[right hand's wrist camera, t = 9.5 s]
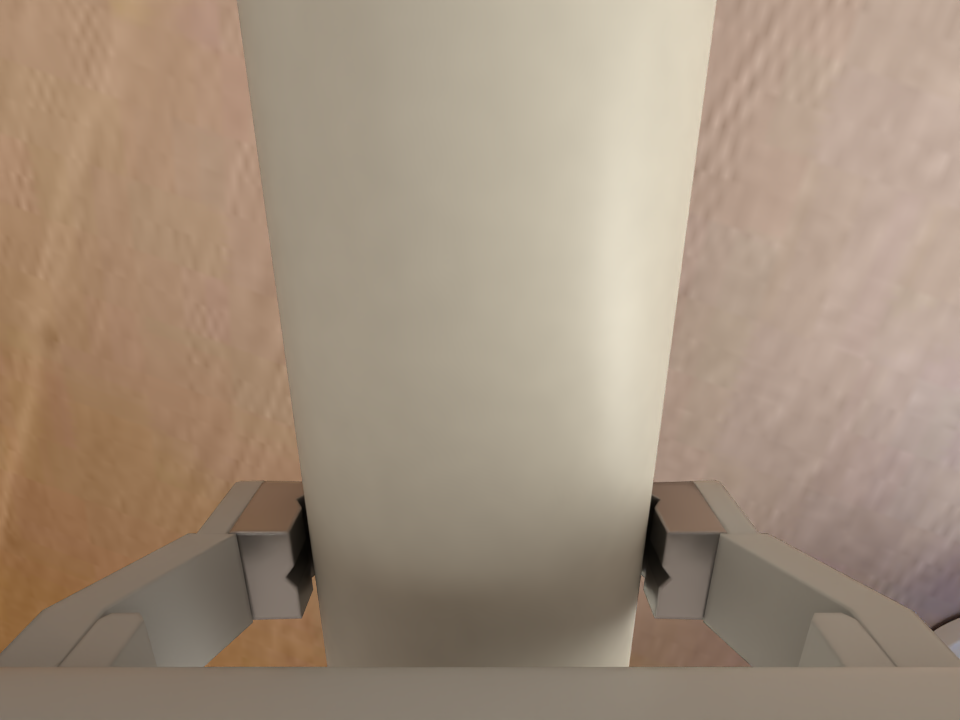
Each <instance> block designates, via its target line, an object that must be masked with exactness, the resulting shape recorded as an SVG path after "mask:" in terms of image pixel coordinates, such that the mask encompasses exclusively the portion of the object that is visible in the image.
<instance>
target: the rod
mask: <svg viewBox="0 0 960 720" xmlns="http://www.w3.org/2000/svg"><path fill="white" fill-rule="evenodd" d="M716 1H717V0H237V6H238V13H239V20H240V28H241V35H242V42H243V50H244V57H245V64H246V72H247V79H248V86H249V94H250V101H251V108H252V116H253V123H254V130H255V138H256V145H257V152H258V160H259V167H260V175H261V182H262V189H263V197H264V204H265V211H266V219H267V226H268V233H269V241H270V248H271V255H272V263H273V270H274V277H275V285H276V292H277V299H278V307H279V314H280V321H281V329H282V336H283V343H284V351H285V358H286V365H287V373H288V380H289V387H290V395H291V402H292V409H293V417H294V424H295V431H296V439H297V446H298V453H299V461H300V468H301V475H302V483H303V490H304V497H305V505H306V512H307V519H308V527H309V534H310V541H311V549H312V556H313V563H314V571H315V578H316V585H317V593H318V600H319V607H320V615H321V622H322V629H323V637H324V644H325V652H326V659H327V666H328V667H629V662H630V654H631V646H632V639H633V631H634V624H635V616H636V609H637V601H638V593H639V586H640V578H641V571H642V563H643V555H644V548H645V540H646V533H647V525H648V517H649V510H650V502H651V495H652V487H653V479H654V472H655V464H656V457H657V449H658V442H659V434H660V426H661V419H662V411H663V404H664V396H665V388H666V381H667V373H668V366H669V358H670V350H671V343H672V335H673V328H674V320H675V312H676V305H677V297H678V290H679V282H680V275H681V267H682V259H683V252H684V244H685V237H686V229H687V221H688V214H689V206H690V199H691V191H692V183H693V176H694V168H695V161H696V153H697V146H698V138H699V130H700V123H701V115H702V108H703V100H704V92H705V85H706V77H707V70H708V62H709V54H710V47H711V39H712V32H713V24H714V16H715V9H716Z"/></svg>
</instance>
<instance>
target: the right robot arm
mask: <svg viewBox="0 0 960 720" xmlns="http://www.w3.org/2000/svg"><path fill="white" fill-rule="evenodd" d="M641 575H642V576H643V577H645V581H644V589H643V590H644V592H645V595H646V597H647V600H648V602H649V605H650V608H651V610H652V613H653V615H654V618H660V619H695V620H704V621H703V622H704V623H705V624H706V625H707V626H708V627H709V628H710V629H711V630H713V631H714V632H715V633H716V634H717V635H718V636H719V637H720V638H721V639H722V640H724V641H725V642H726V643H727V644H728V645H729V646H730V647H731V648H732V649H733V650H735V651H736V652H737V653H738V654H739V655H740V656H741V657H742V658H743V659H744V660H746V661H747V662H748V663H749V664H750V665H751V666H752V667H204V666H205V665H206V664H207V663H208V662H210V661H211V660H212V659H213V658H214V657H215V656H216V655H217V654H218V653H220V652H221V651H222V650H223V649H224V648H225V647H226V646H227V645H228V644H229V643H231V642H232V641H233V640H234V639H235V638H236V637H237V636H238V635H239V634H241V633H242V632H243V631H244V630H245V629H246V628H247V627H248V626H249V625H251V624H252V623H253V620H261V619H295V618H302V616H303V614H304V611H305V609H306V606H307V603H308V601H309V598H310V596H311V593H312V591H313V585H312V577H313V576H315V571H314V563H313V556H312V549H311V541H310V534H309V527H308V519H307V512H306V505H305V497H304V490H303V483H302V482H299V481H239V482H236V483H235V484H234V485H233V487H232V488H231V489H230V491H229V492H228V493H227V494H226V496H225V497H224V498H223V500H222V501H221V502H220V504H219V505H218V506H217V508H216V509H215V510H214V511H213V513H212V514H211V515H210V517H209V518H208V519H207V521H206V522H205V523H204V525H203V526H202V527H201V528H200V530H199V531H198V532H197V534H186V535H185V536H183V537H181V538H179V539H177V540H175V541H173V542H171V543H169V544H168V545H166V546H164V547H162V548H160V549H158V550H156V551H154V552H152V553H150V554H149V555H147V556H145V557H143V558H141V559H139V560H137V561H135V562H133V563H131V564H130V565H128V566H126V567H124V568H122V569H120V570H118V571H116V572H114V573H112V574H111V575H109V576H107V577H105V578H103V579H101V580H99V581H97V582H95V583H93V584H92V585H90V586H88V587H86V588H84V589H82V590H80V591H78V592H76V593H74V594H73V595H71V596H69V597H67V598H65V599H63V600H61V601H59V602H57V603H55V604H54V605H52V606H50V607H48V608H46V609H44V610H42V611H41V612H40V613H39V614H38V615H37V616H36V618H35V619H34V620H33V621H32V622H31V623H30V624H29V625H28V626H27V627H26V628H25V629H24V630H23V631H22V632H21V633H20V634H19V635H18V636H17V637H16V638H15V639H14V640H13V641H12V642H11V643H10V644H9V645H8V646H7V647H6V648H5V649H4V650H3V651H2V652H1V653H0V720H960V618H958V619H955V620H953V621H951V622H949V623H947V624H945V625H943V626H941V627H939V628H938V629H936V630H935V631H932V630H931V629H930V628H929V627H928V626H927V625H926V623H925V622H924V621H923V620H922V619H921V618H920V617H919V616H918V615H917V614H916V613H915V612H914V611H912V610H911V609H909V608H907V607H905V606H903V605H901V604H899V603H897V602H895V601H894V600H892V599H890V598H888V597H886V596H884V595H882V594H880V593H879V592H877V591H875V590H873V589H871V588H869V587H867V586H865V585H863V584H862V583H860V582H858V581H856V580H854V579H852V578H850V577H848V576H847V575H845V574H843V573H841V572H839V571H837V570H835V569H833V568H832V567H830V566H828V565H826V564H824V563H822V562H820V561H818V560H816V559H815V558H813V557H811V556H809V555H807V554H805V553H803V552H801V551H800V550H798V549H796V548H794V547H792V546H790V545H788V544H786V543H785V542H783V541H781V540H779V539H777V538H775V537H773V536H771V535H769V534H759V532H758V531H757V530H756V528H755V527H754V526H753V524H752V523H751V522H750V521H749V519H748V518H747V517H746V515H745V514H744V513H743V511H742V510H741V509H740V507H739V506H738V505H737V503H736V502H735V501H734V499H733V498H732V497H731V496H730V494H729V493H728V492H727V490H726V489H725V488H724V486H723V485H722V484H721V483H720V482H718V481H716V480H711V481H690V482H653V487H652V495H651V502H650V510H649V517H648V525H647V533H646V540H645V548H644V555H643V563H642V571H641Z"/></svg>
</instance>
